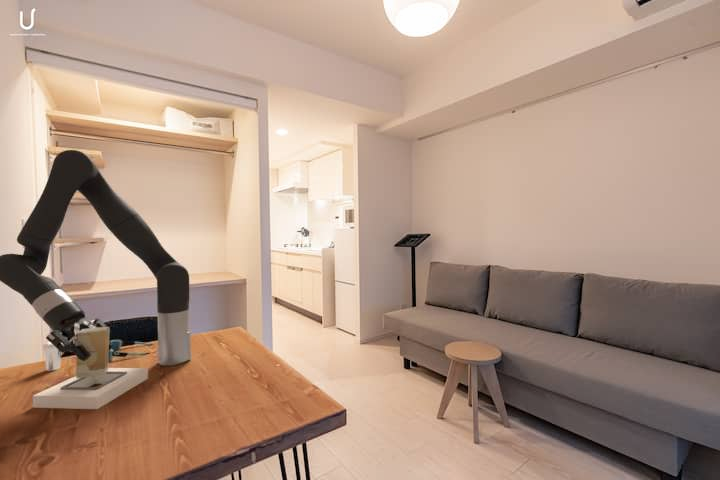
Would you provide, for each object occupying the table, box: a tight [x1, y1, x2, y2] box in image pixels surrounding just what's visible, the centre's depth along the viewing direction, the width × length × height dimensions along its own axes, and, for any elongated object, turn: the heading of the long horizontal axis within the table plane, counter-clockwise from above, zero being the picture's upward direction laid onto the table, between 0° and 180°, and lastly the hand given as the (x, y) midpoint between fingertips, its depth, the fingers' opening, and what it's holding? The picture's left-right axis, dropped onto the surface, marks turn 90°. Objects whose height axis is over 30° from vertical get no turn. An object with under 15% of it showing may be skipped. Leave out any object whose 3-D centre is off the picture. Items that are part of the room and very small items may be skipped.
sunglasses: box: [109, 339, 154, 361], centre depth 118 cm, size 14×15×5 cm
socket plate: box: [32, 367, 149, 410], centre depth 87 cm, size 17×17×3 cm
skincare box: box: [75, 326, 111, 378], centre depth 87 cm, size 6×4×12 cm
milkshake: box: [42, 341, 63, 372], centre depth 103 cm, size 4×5×10 cm
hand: (99, 353), depth 87 cm, fingers closed on skincare box, 6 cm apart
